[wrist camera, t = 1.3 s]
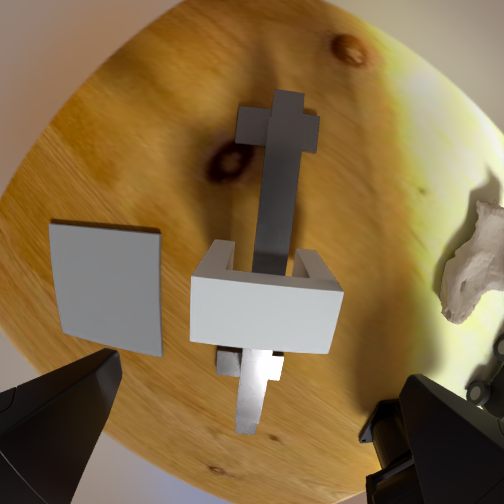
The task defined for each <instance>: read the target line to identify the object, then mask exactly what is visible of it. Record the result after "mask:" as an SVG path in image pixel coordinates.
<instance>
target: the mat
mask: <svg viewBox="0 0 504 504" xmlns="http://www.w3.org/2000/svg"><path fill="white" fill-rule="evenodd" d="M49 237H50V250H51V261H52V270H53V278H54V285H55V292H56V298H57V304H58V310H59V315H60V320H61V325H62V329H63V333H65V334H68V335H72V336H75V337H79V338H82V339H86V340H89V341H93V342H96V343H100V344H104V345H108V346H112V347H116V348H120V349H125V350H129V351H133V352H138V353H143V354H147V355H152V356H157V357H162V356H163V343H162V322H161V234H159V233H149V232H139V231H129V230H119V229H109V228H98V227H88V226H77V225H66V224H56V223H51V224H49Z"/></svg>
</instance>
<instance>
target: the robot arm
mask: <svg viewBox="0 0 504 504" xmlns="http://www.w3.org/2000/svg"><path fill="white" fill-rule="evenodd" d="M121 379H122V367H121V361H120V355H119V352H118V351H117V350H114V349H110V348H104V349H102V350H99V351H97V352H95V353H93V354H90V355H88V356H86V357H84V358H81V359H79V360H77V361H75V362H72V363H70V364H68V365H65V366H63V367H61V368H59V369H56V370H54V371H52V372H49V373H47V374H45V375H42V376H40V377H38V378H35V379H33V380H30V381H28V382H26V383H23V384H21V385H18V386H17V388H16V387H14V388H11V389H9V390H6V391H4V392H1V393H0V504H70V503H71V501H72V498H73V496H74V493H75V491H76V488H77V486H78V484H79V481H80V479H81V477H82V474H83V472H84V470H85V467H86V465H87V463H88V460H89V458H90V456H91V454H92V452H93V449H94V447H95V445H96V443H97V440H98V438H99V436H100V434H101V432H102V430H103V428H104V425H105V423H106V421H107V419H108V417H109V414H110V411H111V408H112V405H113V402H114V399H115V396H116V393H117V390H118V387H119V385H120V382H121ZM359 442H360V443H369V442H373V445H374V448H375V451H376V453H377V456H378V459H379V462H380V465H381V468H382V470H380V471H378V472H376V473H374V474H370V475H368V476H366V493H367V504H504V422H503V421H502V420H500V419H497V418H496V417H494V416H493V415H491V414H489V413H487V412H486V411H484V410H482V409H480V408H479V407H477V406H475V405H473V404H472V403H470V402H468V401H467V400H465V399H463V398H461V397H460V396H458V395H456V394H455V393H453V392H451V391H449V390H448V389H446V388H444V387H443V386H441V385H439V384H437V383H436V382H434V381H432V380H431V379H429V378H427V377H426V376H424V375H422V374H412V375H410V376H409V377H408V378H407V380H406V382H405V384H404V387H403V389H402V391H401V393H400V397H399V399H397V400H387V401H381V402H379V403H378V405H377V406H376V408H375V410H374V412H373V414H372V416H371V418H370V420H369V422H368V423H367V425H366V427H365V429H364V431H363V432H362V434H361V436H360V438H359Z"/></svg>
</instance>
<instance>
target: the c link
mask: <svg viewBox="0 0 504 504" xmlns="http://www.w3.org/2000/svg"><path fill="white" fill-rule="evenodd" d="M234 248H235V241H226V240H217V239H215V240H214V241H213V243H212V244H211V246H210V248H209V249H208V251H207V252H206V254H205V255H204V257H203V258H202V260H201V262H200V263H199V265H198V266H197V268H196V269H195V271H194V273H193V274H192V276H191V302H190V341H193V342H200V343H207V344H214V345H222V346H230V347H239V348H249V349H259V350H270V351H283V352H299V353H319V354H328V353H329V349H330V346H331V342H332V338H333V335H334V331H335V327H336V323H337V320H338V316H339V312H340V308H341V304H342V299H343V295H344V291H343V289H342V288H341V286H340V285H339V283H338V282H337V280H336V279H335V277H334V276H333V274H332V273H331V271H330V270H329V269H328V267H327V266H326V264H325V263H324V261H323V260H322V258H321V257H320V255H319V254H318V253H317V251H316V250H308V249H299V248H296V253H295V260H294V266H293V273H292V277H291V276H281V275H271V274H262V273H252V272H243V271H234V270H233V259H234Z"/></svg>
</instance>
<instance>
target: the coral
mask: <svg viewBox="0 0 504 504" xmlns="http://www.w3.org/2000/svg"><path fill="white" fill-rule="evenodd" d="M476 205H477V210H476V211H477V213H478V220H477V222H476V223H475V227H476V230H475V231H474V233H473V236H472V237H471V239H470V240H469V241H467V242H466V243H464V244H463V245H462V246H461V247H460V248H458V249H456V252H455V257H454V258H452V259H450V260H448V261H447V262H446V266H445V269H444V274H443V276H442V284H441V291H440V293H441V295H440V301H441V305H442V312H441V313H442V314H443V315H444V316H445V317H446V319H447V320H448V321H450V322H452V323H455V324H461V323H463V321H464V320H466V319H467V317H468V316H469V315H471V313H472V311H473V310H474V308H475V306H476V305H477V303H478V302H479V300H480V298H481V295H483V294H484V293H486V292H487V291H490V290H498V291H504V208H503V207H501V206H500V205H498V204H497V202H496V200H495V199H494V202H493V203H490V204H488V203H487V202H483V203H481V202H480V201H479V200H477V201H476Z"/></svg>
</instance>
